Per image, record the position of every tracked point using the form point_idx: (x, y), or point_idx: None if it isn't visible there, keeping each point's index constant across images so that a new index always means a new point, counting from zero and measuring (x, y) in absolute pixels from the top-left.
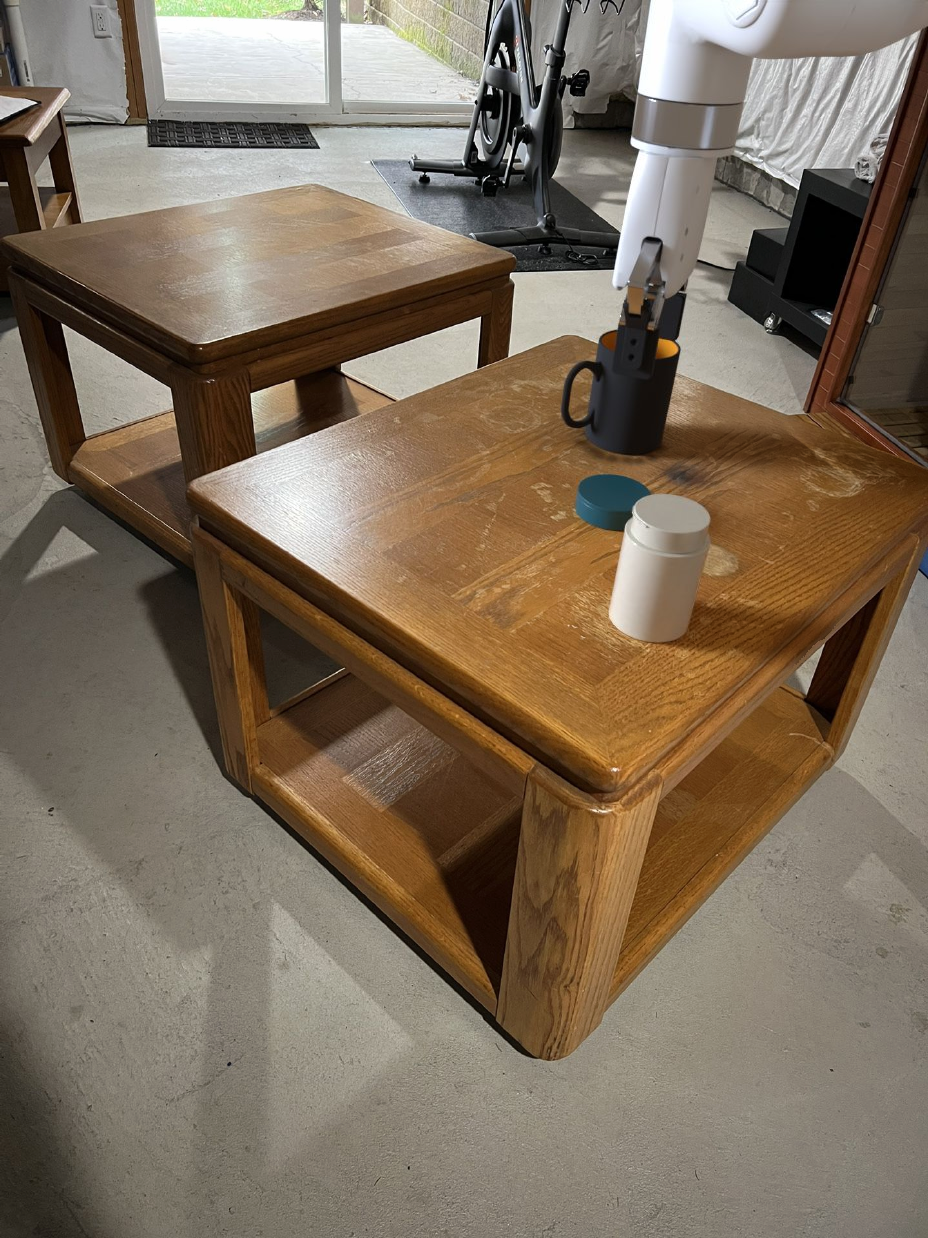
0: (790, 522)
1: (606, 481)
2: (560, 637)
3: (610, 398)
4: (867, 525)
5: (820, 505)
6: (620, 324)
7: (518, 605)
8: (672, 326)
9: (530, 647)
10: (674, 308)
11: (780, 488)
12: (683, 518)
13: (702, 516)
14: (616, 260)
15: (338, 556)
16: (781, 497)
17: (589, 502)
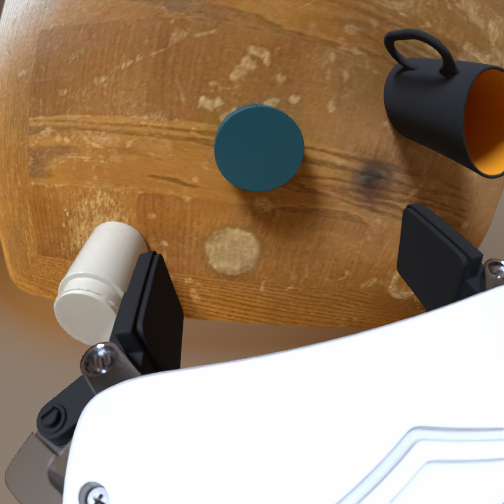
0: (334, 280)
1: (278, 131)
2: (52, 213)
3: (421, 92)
4: (355, 316)
5: (371, 287)
6: (92, 350)
7: (55, 165)
8: (410, 277)
9: (30, 203)
10: (430, 300)
11: (386, 256)
12: (87, 331)
13: (105, 340)
14: (66, 495)
15: (19, 16)
16: (372, 262)
17: (216, 138)
